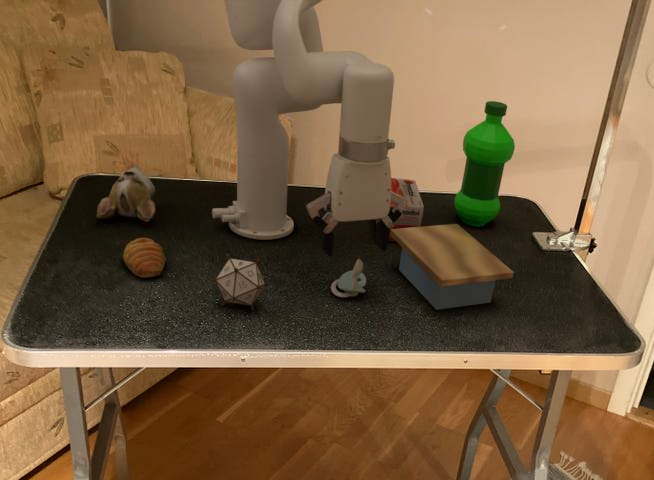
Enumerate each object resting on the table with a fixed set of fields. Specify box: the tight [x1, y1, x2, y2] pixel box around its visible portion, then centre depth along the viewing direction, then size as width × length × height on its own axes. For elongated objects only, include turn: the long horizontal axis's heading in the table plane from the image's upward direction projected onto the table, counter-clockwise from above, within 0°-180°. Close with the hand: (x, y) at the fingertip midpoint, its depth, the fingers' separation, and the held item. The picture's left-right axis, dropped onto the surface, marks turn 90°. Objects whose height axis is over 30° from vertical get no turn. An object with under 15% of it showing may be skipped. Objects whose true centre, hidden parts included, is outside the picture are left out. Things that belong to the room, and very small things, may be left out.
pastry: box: [122, 237, 167, 279], centre depth 127 cm, size 9×7×4 cm
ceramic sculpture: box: [95, 164, 157, 223], centre depth 143 cm, size 11×9×15 cm
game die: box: [209, 252, 271, 311], centre depth 120 cm, size 9×8×10 cm
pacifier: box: [330, 258, 367, 299], centre depth 128 cm, size 7×6×6 cm
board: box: [390, 223, 515, 287], centre depth 132 cm, size 14×20×1 cm
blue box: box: [398, 247, 496, 310], centre depth 134 cm, size 11×15×6 cm
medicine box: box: [375, 177, 425, 243], centre depth 152 cm, size 15×8×8 cm, turn 6°
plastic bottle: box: [453, 100, 516, 227], centre depth 155 cm, size 10×10×25 cm
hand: (354, 250), depth 125 cm, fingers open, 9 cm apart
